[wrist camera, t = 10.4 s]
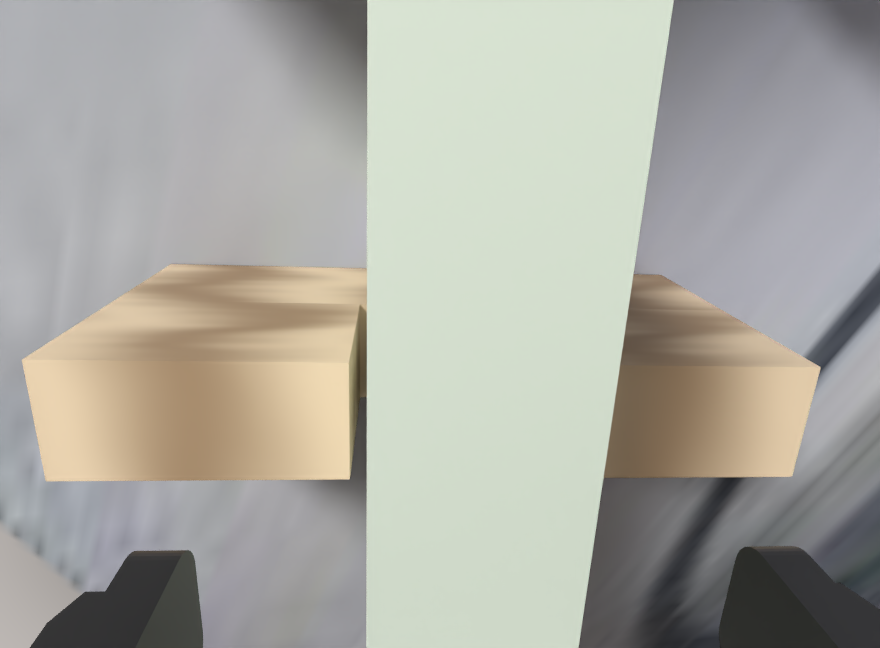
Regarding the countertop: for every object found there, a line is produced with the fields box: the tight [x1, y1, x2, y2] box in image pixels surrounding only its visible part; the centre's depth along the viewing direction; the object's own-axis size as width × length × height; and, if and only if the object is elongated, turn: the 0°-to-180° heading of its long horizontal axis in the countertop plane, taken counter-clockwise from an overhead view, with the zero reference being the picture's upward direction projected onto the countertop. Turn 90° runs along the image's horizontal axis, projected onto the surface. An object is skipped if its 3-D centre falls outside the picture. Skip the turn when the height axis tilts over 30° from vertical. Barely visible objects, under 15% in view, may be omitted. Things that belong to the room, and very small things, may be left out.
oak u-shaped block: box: [22, 264, 821, 481], centre depth 18 cm, size 18×3×9 cm, turn 88°
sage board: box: [366, 0, 674, 648], centre depth 15 cm, size 3×16×15 cm, turn 178°
